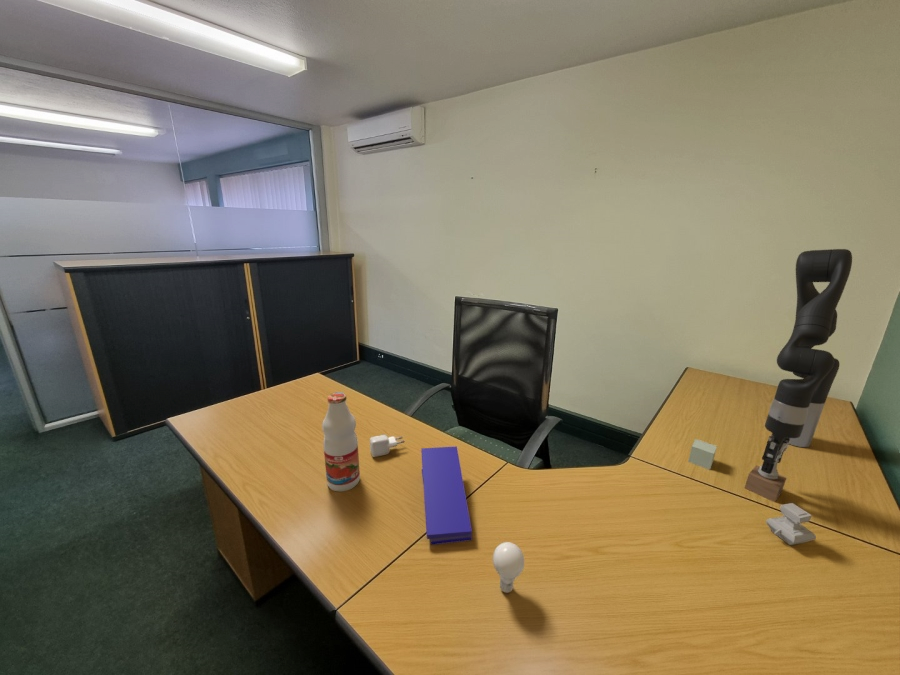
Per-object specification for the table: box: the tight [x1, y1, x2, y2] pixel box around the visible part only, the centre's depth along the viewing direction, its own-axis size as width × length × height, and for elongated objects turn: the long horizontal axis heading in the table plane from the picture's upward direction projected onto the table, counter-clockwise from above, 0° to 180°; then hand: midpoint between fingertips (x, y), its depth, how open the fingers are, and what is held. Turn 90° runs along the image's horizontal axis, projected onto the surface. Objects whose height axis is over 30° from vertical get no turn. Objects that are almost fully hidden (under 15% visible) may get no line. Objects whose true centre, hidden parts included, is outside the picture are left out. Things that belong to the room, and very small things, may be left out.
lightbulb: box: [492, 541, 525, 594], centre depth 74 cm, size 6×6×11 cm
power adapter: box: [369, 434, 405, 458], centre depth 120 cm, size 11×5×6 cm, turn 113°
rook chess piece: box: [758, 454, 783, 480], centre depth 103 cm, size 4×4×8 cm
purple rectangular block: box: [420, 446, 473, 546], centre depth 98 cm, size 12×28×10 cm, turn 9°
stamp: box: [765, 502, 817, 546], centre depth 88 cm, size 9×7×8 cm
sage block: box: [687, 438, 718, 471], centre depth 118 cm, size 6×6×6 cm
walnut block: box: [744, 464, 787, 503], centre depth 105 cm, size 7×7×5 cm
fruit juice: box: [321, 392, 361, 492], centre depth 102 cm, size 9×9×28 cm
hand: (770, 466), depth 103 cm, fingers open, 8 cm apart
